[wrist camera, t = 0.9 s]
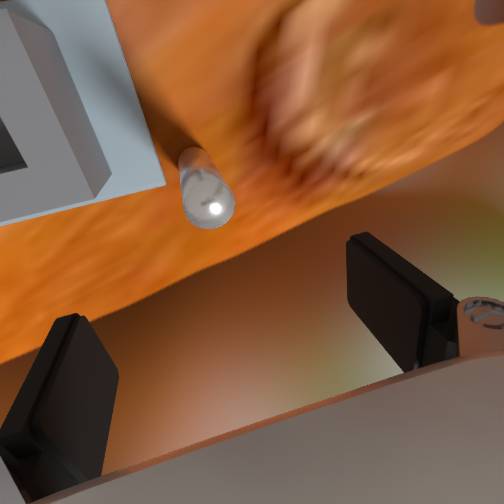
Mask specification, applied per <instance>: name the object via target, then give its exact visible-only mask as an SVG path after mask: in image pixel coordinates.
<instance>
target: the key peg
mask: <svg viewBox="0 0 504 504" xmlns="http://www.w3.org/2000/svg"><path fill="white" fill-rule="evenodd" d="M178 166H179V174H180V183H181V191H182V200H183V208H184V212H185V215H186V217H187V218H188V220H189V221H190V222H191V223H192V224H194V225H195V226H197V227H199V228H203V229H215V228H218V227H220V226H222V225H224V224H225V223H226V222H227V221H228V220H229V219H230V218H231V216H232V214H233V212H234V208H235V201H234V197H233V194H232V192H231V191H230V189H229V187H228V186H227V184H226V182H225V181H224V179H223V178H222V176H221V174H220V173H219V171H218V169H217V168H216V166H215V164H214V163H213V161H212V160H211V158H210V156H209V155H208V153H207V152H206V151H205V150H203V149H202V148H199V147H189V148H187V149H185V150H184V151H183V152H182V153H181V154H180V156H179V160H178Z"/></svg>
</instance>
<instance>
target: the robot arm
mask: <svg viewBox="0 0 504 504" xmlns="http://www.w3.org/2000/svg"><path fill="white" fill-rule="evenodd" d="M346 263H347V299H348V303H349V305H350V307H351V308H352V309H353V311H354V312H355V313H356V314H357V316H358V317H359V318H360V319H361V320H362V322H363V323H364V324H365V325H366V327H367V328H368V329H369V330H370V331H371V333H372V334H373V335H374V336H375V338H376V339H377V340H378V341H379V342H380V344H381V345H382V346H383V347H384V349H385V350H386V351H387V352H388V353H389V355H391V357H392V358H393V360H394V361H395V362H396V363H397V365H398V366H399V367H400V368H401V369H402V371H403V372H404V373H403V374H399V375H396V376H393V377H390V378H387V379H384V380H381V381H378V382H375V383H372V384H369V385H366V386H363V387H360V388H357V389H354V390H351V391H348V392H345V393H342V394H339V395H336V396H333V397H330V398H327V399H324V400H321V401H318V402H315V403H312V404H309V405H306V406H303V407H300V408H297V409H294V410H291V411H288V412H285V413H282V414H279V415H276V416H273V417H271V418H268V419H265V420H262V421H259V422H256V423H253V424H250V425H247V426H244V427H241V428H239V429H236V430H232V431H230V432H227V433H224V434H221V435H218V436H215V437H212V438H209V439H206V440H203V441H200V442H198V443H194V444H192V445H189V446H186V447H183V448H180V449H177V450H174V451H171V452H168V453H166V454H163V455H160V456H157V457H154V458H151V459H148V460H145V461H143V462H140V463H137V464H134V465H131V466H128V467H125V468H122V469H119V470H117V471H114V472H111V473H108V474H106V475H103V476H101V473H102V467H103V462H104V457H105V451H106V446H107V440H108V435H109V429H110V424H111V419H112V413H113V407H114V402H115V397H116V391H117V386H118V380H119V374H118V369H117V367H116V366H115V364H114V362H113V361H112V359H111V357H110V356H109V354H108V353H107V351H106V349H105V348H104V346H103V344H102V343H101V341H100V339H99V338H98V336H97V334H96V333H95V331H94V329H93V328H92V326H91V325H90V323H89V321H88V320H87V318H86V317H85V316H80V315H79V314H77V313H74V314H70V315H67V316H63V317H60V318H57V319H56V320H55V322H54V324H53V325H52V327H51V329H50V331H49V333H48V335H47V337H46V339H45V341H44V343H43V345H42V347H41V349H40V351H39V353H38V355H37V357H36V359H35V361H34V363H33V365H32V367H31V369H30V371H29V373H28V375H27V377H26V379H25V381H24V383H23V385H22V387H21V389H20V391H19V393H18V395H17V397H16V399H15V401H14V403H13V405H12V407H11V409H10V411H9V413H8V415H7V417H6V419H5V421H4V423H3V425H2V426H1V429H0V504H504V302H502V301H499V300H497V299H492V298H488V297H470V298H466V299H464V300H462V301H461V302H459V301H458V300H457V299H455V298H454V297H453V294H452V293H450V292H449V291H448V290H446V289H445V288H444V287H442V286H441V285H439V284H438V283H437V282H435V281H434V280H433V279H431V278H430V277H429V276H427V275H426V274H424V273H423V272H422V271H420V270H419V269H418V268H416V267H415V266H414V265H412V264H411V263H410V262H408V261H407V260H405V259H404V258H403V257H401V256H400V255H399V254H397V253H396V252H394V251H393V250H392V249H390V248H389V247H388V246H386V245H385V244H384V243H382V242H381V241H379V240H378V239H377V238H375V237H374V236H373V235H371V234H370V233H368V232H363V233H360V234H356V235H352V236H351V237H350V240H349V241H347V243H346Z"/></svg>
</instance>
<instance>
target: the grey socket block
mask: <svg viewBox="0 0 504 504" xmlns="http://www.w3.org/2000/svg"><path fill="white" fill-rule="evenodd" d="M164 185H166V180H165V177H164V174H163V171H162V168H161V165H160V162H159V159H158V156H157V153H156V150H155V147H154V144H153V141H152V138H151V135H150V132H149V129H148V126H147V123H146V120H145V117H144V114H143V111H142V108H141V105H140V102H139V99H138V96H137V93H136V90H135V87H134V84H133V81H132V78H131V75H130V72H129V69H128V66H127V63H126V60H125V57H124V54H123V51H122V48H121V45H120V42H119V39H118V36H117V33H116V30H115V27H114V24H113V21H112V18H111V15H110V12H109V9H108V6H107V3H106V0H9V1H3V2H0V226H3V225H7V224H11V223H15V222H19V221H23V220H27V219H31V218H35V217H39V216H43V215H47V214H51V213H55V212H59V211H63V210H67V209H71V208H75V207H79V206H83V205H87V204H91V203H95V202H99V201H103V200H107V199H111V198H115V197H119V196H124V195H128V194H132V193H136V192H140V191H144V190H148V189H152V188H156V187H160V186H164Z"/></svg>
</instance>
